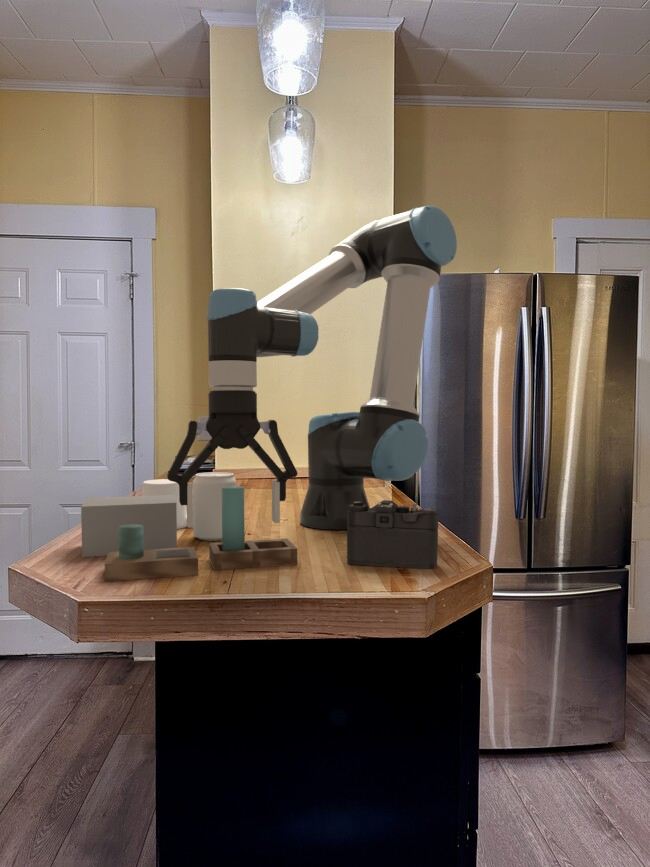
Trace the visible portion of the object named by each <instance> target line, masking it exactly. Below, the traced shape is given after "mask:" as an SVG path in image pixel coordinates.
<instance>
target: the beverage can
mask: <svg viewBox="0 0 650 867" xmlns="http://www.w3.org/2000/svg"><path fill="white" fill-rule="evenodd" d="M194 476H195V477H194V479H193V480H192V486H193V527H192V531H193V532H192V533H193V534H192V535H193V536H194V538H198V539H199V540H201V541H208V542H209V541H210V542H211V541H213V542H214V541H215V542H216V541H222V487H228V486H237V479H236V478H235V476H234V473H233V472H227V471H226V472H225V471H221V472H220V471H213V472H212V471H211V472H210V471H209V472H199V473H195V474H194Z"/></svg>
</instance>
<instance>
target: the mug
mask: <svg viewBox="0 0 650 867" xmlns="http://www.w3.org/2000/svg"><path fill="white" fill-rule="evenodd" d="M151 495H175V499H176V509H177V530H179V529H180V530H181V529H184V528H187V527H188V526H187V505H181V504H180V501H179V484H178V483H176V482H173V481H169V480H168V478H167V479H166V478H164V479H163V478H161V479H158V478H157V479H147V480H144V481H143V482H142V490H141V496H151Z"/></svg>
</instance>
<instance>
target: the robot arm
mask: <svg viewBox="0 0 650 867" xmlns="http://www.w3.org/2000/svg"><path fill="white" fill-rule="evenodd" d="M457 248H458V242H457V236H456V231H455V227H454V226H453V224H452V221H451V219H450V218H449V216H448V215H447V214H446V212H445V211H443V210H442V209H441V208H439V207H437V206H435V205H425V206H420V207H417V206H415V207H413V208H412V209H410V210H407V211H404V212H401V213H397V214H393V215H390V216H386V217H383V218H380V219H376V220H374V221H372V222H370V223H368V224H366V225H364V226H362V227H361V228H360V229H359V230H357V231H355V232H354V233H352V234H351V235H349V236H348V237H347V238H345V239H344V240H342V241H341V242H339V243H337V244H336V245H334V246H333V247H332V248H331V249H330V251H329V253H328V256H327V257H325V258H323V259H322V260H321V261H319V262H317V263H316V264H313V266H311V267H310V268H308V269H306V270H305V271H303V272H302V273H300V274H299V275H297V276H296V277H294V278H293V279H291V280H290V281H288V282H286V283H285V284H283V285H282V286H280V287H279V288H277V289H276V290H274V291H273V292H271V293H269V294H268V295H266V296H264V297H263V298H262V299H260V300H258V301H257V294H256V293H255V292H254V291H253V290H250V289H246V288H241V287H240V288H239V287H224V288H217V289H215V290H213V291H211V292H210V293H209V296H208V303H207V317H206V321H207V346H208V347H207V348H208V351H207V352H208V354H207V356H208V386H209V388H212V390H210V391H209V392H208V417H207V418H208V419H207V421H206V422H202V421H196V420H190V421H188V424H187V433H186V436H185V438H184V440H183V442H182V444H181V446H180V448H179V449H178V453H177V454H176V455H175V458H174V460H173V462H172V464H171V467H170V468H169V470H168V472H167V474H166V477H167V479H168V480H169V481H173V482H176V483H178V484H179V501H180V504H181V505H186V510H187V526H186V527H187V528H193V482H190V480H191V479H192V478H193V477H194V476H195V475H196V474H197V472H198V471H199V469H200V468H201V467H202V466H203V465H204V463H205V462H206V461H207V460H208V459H209V457H210V456H211V455H212V454H213V453H214V452H215V451H216V450H217V448H218V447H219V448H220V449H223V450H230V449H233V448H235V449H239V450H244V449H246V448H247V447H249V449H251V451H253V453H254V454H255V455H256V456H257V457H258V458H259V459H260V461H261V462H262V463H263V464H264V465H265V467H266V468H267V469H268V471H270V472H271V474H272V475H273V476H274V477H275V478H276V480H275V479H274V480H271V520H272V521H273V523H275V524H279V523H280V522H281V519H280V518H281V516H280V515H281V512H280V510H281V508H280V506H281V505H280V504H281V503H280V502H285V501H286V499H287V481H288V480H290V479H292V478H296V477H297V476H298V471H297V469H296V467H295V465H294V463H293V460H292V459H291V457H290V455H289V453H288V451H287V448H286V446H285V445H284V442H283V440H282V438H281V436H280V434H279V429H278V422H277V421H276V420H275V419H268V420H266V421H265V420H264V421H259V419H258V396H257V394H258V393H256V391H255V390H254V388H256V387H258V385H257V384H258V382H257V381H258V380H257V378H258V377H257V376H258V374H257V367H258V366H257V361H258V360H257V359H258V358H267V357H278V356H291V357H302V356H303V357H305V356H308V355H310V354H311V353H312V352H313V351H314V350H315V349H316V347H317V344H318V342H319V330H320V329H319V324H318V322H317V320H316V318H315V317H314V316H313V315H312V314H313V313H314V312H316V311H317V310H319V309H320V308H322V307H323V306H324V305H326V304H328V303H329V302H330V301H331V300H333V299H334V298H336V297H338V296H339V295H340V294H342V293H343V292H345V291H346V290H348V289H357V288H359V287H360V286H361V285H363V284H364V283H366V282H369V281H372V280H375V279H380V278H383V279H384V281H386V283H387V284H386V290H385V296H384V304H383V308H382V317H381V322H380V330H379V336H378V342H377V348H376V355H375V362H374V368H373V373H372V379H371V380H372V382H371V388H370V394H369V398H368V400H367V401H365V402H364V403H363V404H361V405H360V408H359V411H344V412H335V413H332V412H331V413H325V414H324V413H323V414H319V415H315V416H313V417H312V418H311V419H310V420H309V423H308V433H307V457H308V458H307V459H308V463H307V465H308V467H307V468H308V470H307V472H308V474H307V475H308V488H307V491H306V494H305V496H304V500H303V503H302V507H301V509H300V514H299V515H300V516H299V517H300V518H299V522H300V523H299V524H300V525H302V526H305V527H306V528H307V527H308V528H312V529H319V530H320V529H321V530H347V525H348V524H347V514H348V510H349V505H351V504H353V502H355V501H360V502H363V505H367V506H368V509H369V508H371V507H370V503H369V501H368V496H367V494H366V490H365V485H364V479H365V478H369V479H375V480H380V481H385V482H391V481H397V482H398V481H399V482H400V481H405V480H409V479H410V478H412V477H413V476H414V475H415V474H416V473H417V472H419V470H420V469H421V468H422V466H423V465H424V462H425V461H426V457H427V454H428V451H429V438H428V436H427V431H426V429H425V426H424V425H422V423H420V422H419V421H420V413H419V412H418V410H417V408H415V406H414V402H415V396H416V386H417V382H418V375H419V366H420V361H421V360H420V359H421V355H422V346H423V340H424V333H425V328H426V320H427V312H428V307H429V299H430V294H431V289H432V288H433V287H434V286H436V285H437V284H438V283H439V282H440V279H441V278H440V277H441V271H442V267H445V266H446V265H448V264H450V263H451V262H452V261H453V260H454V258H455V256H456V253H457V250H458V249H457ZM260 429H261V430H262V431H263V433H264V434H265V435H268V437H269V440H270V442H271V444H272V446H273V448H274V450H275V452H276V453H277V455H278V458H279V460H280V462H281V464H282V466H283V468H284V470H282V469H281V468H280V467H279V466H278V465H277V463H276V462H275V461H274V460H273V458H271V456H270V455H269V454H268V453H267V451H265V449H264V448H263V447H262V446H261V445H260V443H259V441H257V440H256V439H255V437H256V436H257V434H258V433H259V431H260ZM203 430H205V431H206V432H207V433H208V434H209V436H210V440H209V441H208V442H207V443H206V445H205V446H204V447H203V449H202V450H201V451H200V452H199V454H197V456H196V457H195V458H194V459H193V460H192V462H191V463H190V464H189V465H188V467H186V469H185V470H184V472H183V473H182V474H179V472H180V470H181V468H182V466H183V464H184V462H185V461H186V459H187V458H186V457H187V456H188V454H189V452H190V450H191V448H192V446H193V444H194V442H195V439H196V437H197V436H200V435H201V434H202V432H203Z"/></svg>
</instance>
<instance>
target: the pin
mask: <svg viewBox="0 0 650 867" xmlns="http://www.w3.org/2000/svg"><path fill="white" fill-rule="evenodd" d="M245 538H246V537H245V487H244V486H238V485H236V486H228V487H222V540H221V542H222V551H235V550H245V541H246V540H245Z"/></svg>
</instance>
